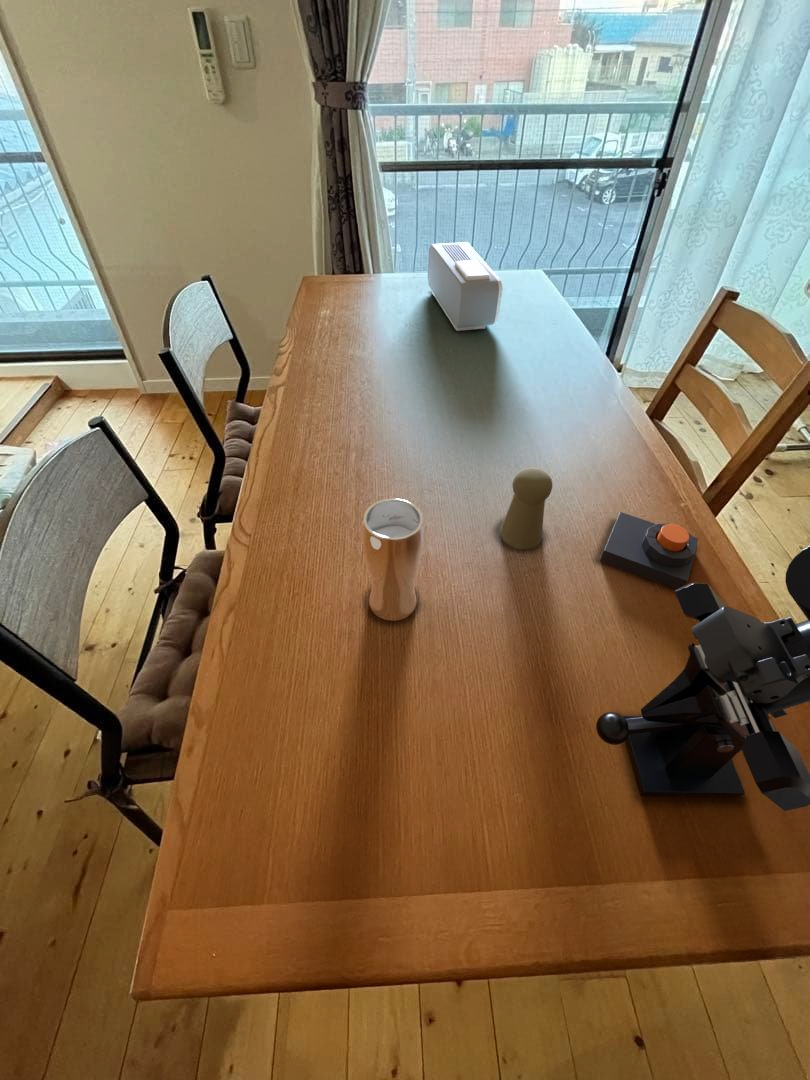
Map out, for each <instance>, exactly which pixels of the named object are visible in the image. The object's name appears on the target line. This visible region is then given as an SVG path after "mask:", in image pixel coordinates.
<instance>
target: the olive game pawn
mask: <svg viewBox="0 0 810 1080" xmlns="http://www.w3.org/2000/svg"><path fill="white" fill-rule="evenodd" d="M552 490H553V480H552V478H551V476H550V475H549V473H548V472H547V471H545V470H543V469H541V468H538V467H525V468H523V469H520V471H518V472H517V473H516V474H515V476H514V477H513V480H512V492H513V496H512V498H511V502H510V504H509V506H508V509H507V511H506V514H505V516H504V519H503V522H502V525H501V527H500V528H499V537H500V538H501V539H502V541H503V542H504V543H505V544H506V545H508V546H510V547H512V548H515V549H518V550H528V549H533V548H536V547H537V546H538V545H539V544H540V543H541V540H542V539H543V526H544V517H545V516H544V515H545V506H546V505H545V504H546V500H547V499H548V498H549V497H550V495H551V493H552Z"/></svg>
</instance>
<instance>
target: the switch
mask: <svg viewBox="0 0 810 1080" xmlns="http://www.w3.org/2000/svg"><path fill="white" fill-rule="evenodd" d="M623 716H624V715H622V714H620V713H618V712H614V711H608V712H605V713H602V714H601V715H600V716H599V717H598V718H597V721H596V725H595V728H596V734H597V735H598V737H599V738H600V739H601V740H602V741H603V742H604V743H606V744H608V745H611V746H617V745H622V744H623V743H624V742H626V741H625V740H626V739H627V738H628V736H629V734H636V733H645V732H655V731H665V730H674V729H684V728H693V727H697V729H698V730H699V728H700V727H701V725H691V724H678V723H665V722H652V721H647V720H645V719H644V718H643V717H641V718H632V719H625V718H624V717H623Z"/></svg>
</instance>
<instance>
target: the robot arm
mask: <svg viewBox="0 0 810 1080" xmlns="http://www.w3.org/2000/svg"><path fill="white" fill-rule="evenodd" d="M784 582H785V584H786V585H785V586H786V589H787V592H788V594H789V595H790V597H791V598H792V599H793V601H794V602H795V604H796V605H797V606H798V608H799V609H800V610H801V613H802V614H803V615H804V616H805V617H806V620H803V621H801V622H798V623H796V622H795V621H794V619H793V618H792V617H791V616H789V617H787V618H779V619H776V620H774V621H767V622H762V621H761V620H760V619H759V618H757V617H755V616H753V615H751V614H748V613H745V612H743V611H740V610H738V609H735V608H733V607H731V606H728V605H726V603H725V602H724V601H723V600H722V599H721V597H720V596H719V595H718V594H717V593H716V592H715V591H714V589H713V588H712V587H711V586H710V584H709V583H704V582H690V583H687V584H686V585H685V586H683V587H681V588H679V589H674V593H675V596H676V598H677V601H678V603H679V605H680V608H681V610H682V613H683V614H684V615H685V616H686V617H687V618H690V619H693V620H696V621H699V622H698V623H697V624H695V625H693V626H692V627H691V632H692V635H693V637H694V639H696V640H697V641H698V643H699V644H697V645H696V644H695V643H694V642H690V643H689V644H688V646H687V649H688V652H689V655H688V659H687V660H686V661H687V662H686V664H685V667H684V669H683V670H682V671H681V672H680V673H679V674H678V675H677V676H676V677H675V679H673V680H672V681H671V682H670V683H669V684H668V685H667V686H666V687H664V688H663V689H662V690H661V691H660V692H659V693H658V694H657V695H655V696H654V697H652V699H651V700H649V702H648V703H646V704H645V705H644V706H643V707H641V708H640V712H641V716H643V718H644V719H645V720H647V721H652V722H665V723H678V724H691V725H701V726H707V727H713V728H718V729H724V730H729V731H730V732H731V733H732V734H734V735H735V736H736V737H737V738H738V739H739V740H740V741H744V743H743V745H742V747H741V750H740V751H741V752H742V754H743V757H744V759H745V762H746V764H747V766H748V768H749V771H750V773H751V775H752V778H753V780H754V783H755V785H756V786H757V788H758V789H759V791H760V793H761V794H762V795H764V796H765V797H766V798H767V799H769V801H771V802H773V803H774V804H775V805H776V806H778V807H779V808H781V809H782V810H783V811H784V812H788V811H791V810H797V809H801V808H806V807H809V806H810V772H809V770H808V768H807V766H806V764H805V762H804V760H803V758H802V755H801V754H800V752H799V750H798V749H797V748H796V747H795V746H794V745H793V744H792V743H791V742H790V740H788V739H787V737H785V736H784V735H783V734H782V733H781V731H779V730H778V731H777V730H776V728H775V726H774V724H773V722H772V720H771V718H770V717H769V715H771V716H772V717H773V718H774V719H777V718H781V717H784V716H787V715H788V712H787V711H786V709H789V708H792V707H795V706H799V705H802V704H806V703H809V702H810V545H809V546H806V547H805V548H803V549H802V550H801V551H800V552H799V553H797V554H796V555H795V556H794V557H793V558H792V559H791V561H790V563H789V564H788V566H787V568H786V571H785V581H784ZM725 684H727V685H728V687H729V689H730V692H728V691H727V688H726V686H725Z"/></svg>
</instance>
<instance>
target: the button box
mask: <svg viewBox="0 0 810 1080" xmlns="http://www.w3.org/2000/svg"><path fill="white" fill-rule="evenodd" d="M667 524H668V523H654V522H652V521H649V520H647V519H643V518H640V517H637V516H634V515H631V514H629V513H625V512H622V511H619V513H618V515H617V518H616V521H615V522H614V525H613V527H612V530H611V532H610V534H609V537H608V540H607V542H606V545H605V547H604V549H603V552H602V554H601V557H600V559H599V562H601V563H604V564H607V565H609V566H611V567H614V568H617V569H620V570H623V571H626V572H628V573H630V574H633V575H635V576H638V577H641V578H644V579H647V580H650V581H652V582H654V583H657V584H660V585H662V586H665V587H667V588H670V589H673V590H676V589H679V588H681V587H683V586H685V585H687V584H688V582H689V579H690V573H691V569H692V566H693V562H694V558H695V556H696V554H697V548H698V543H699V538H698V537H695V536H693V535H692V534H691V533H689V532H688V534H689V540H688V542H687V544H686V546H685V547H684V549H683V550H681V551H679V552H672V551H669V550H666V549H664V548H663V547H661V546H660V545H659V544H658V542H657V537H658V534H659V532H660V530H661V528H662V527H663V526H665V525H667Z"/></svg>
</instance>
